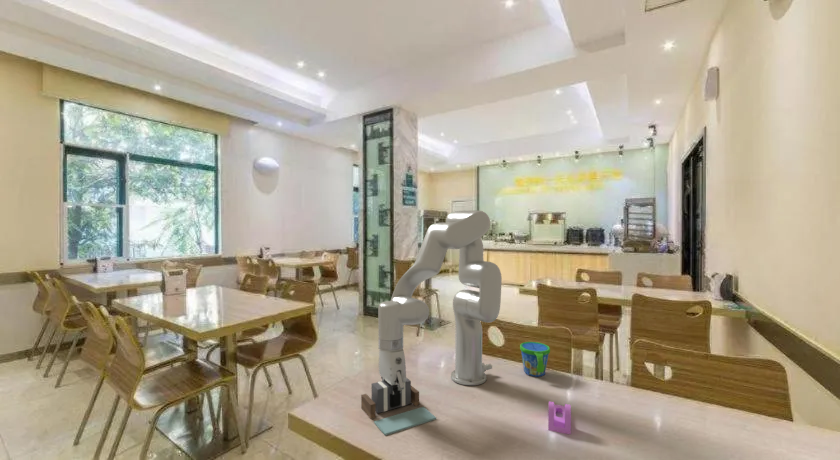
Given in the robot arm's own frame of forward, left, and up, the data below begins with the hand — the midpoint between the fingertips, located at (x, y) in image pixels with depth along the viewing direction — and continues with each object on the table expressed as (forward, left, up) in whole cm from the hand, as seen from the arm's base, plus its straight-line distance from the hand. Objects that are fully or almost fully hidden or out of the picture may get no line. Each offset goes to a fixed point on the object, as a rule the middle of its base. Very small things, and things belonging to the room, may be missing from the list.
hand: (391, 401), depth 111 cm
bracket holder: (0, 0, -1) cm, 1 cm away
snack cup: (-57, +5, -2) cm, 57 cm away
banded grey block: (0, 0, -1) cm, 1 cm away
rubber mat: (0, +10, -1) cm, 10 cm away
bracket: (-38, +31, -2) cm, 49 cm away
